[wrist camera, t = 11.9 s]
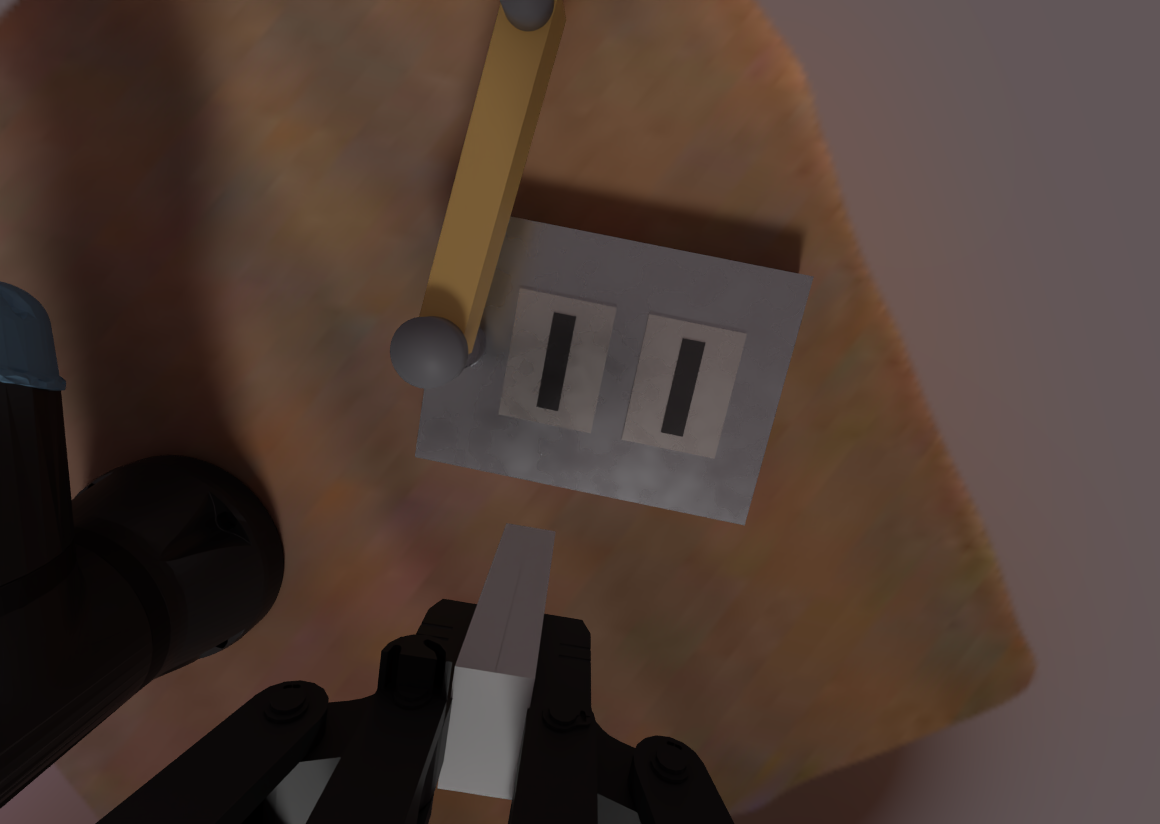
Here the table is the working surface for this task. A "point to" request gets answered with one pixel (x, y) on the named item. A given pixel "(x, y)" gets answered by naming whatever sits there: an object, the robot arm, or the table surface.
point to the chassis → (621, 371)
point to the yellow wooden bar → (482, 193)
